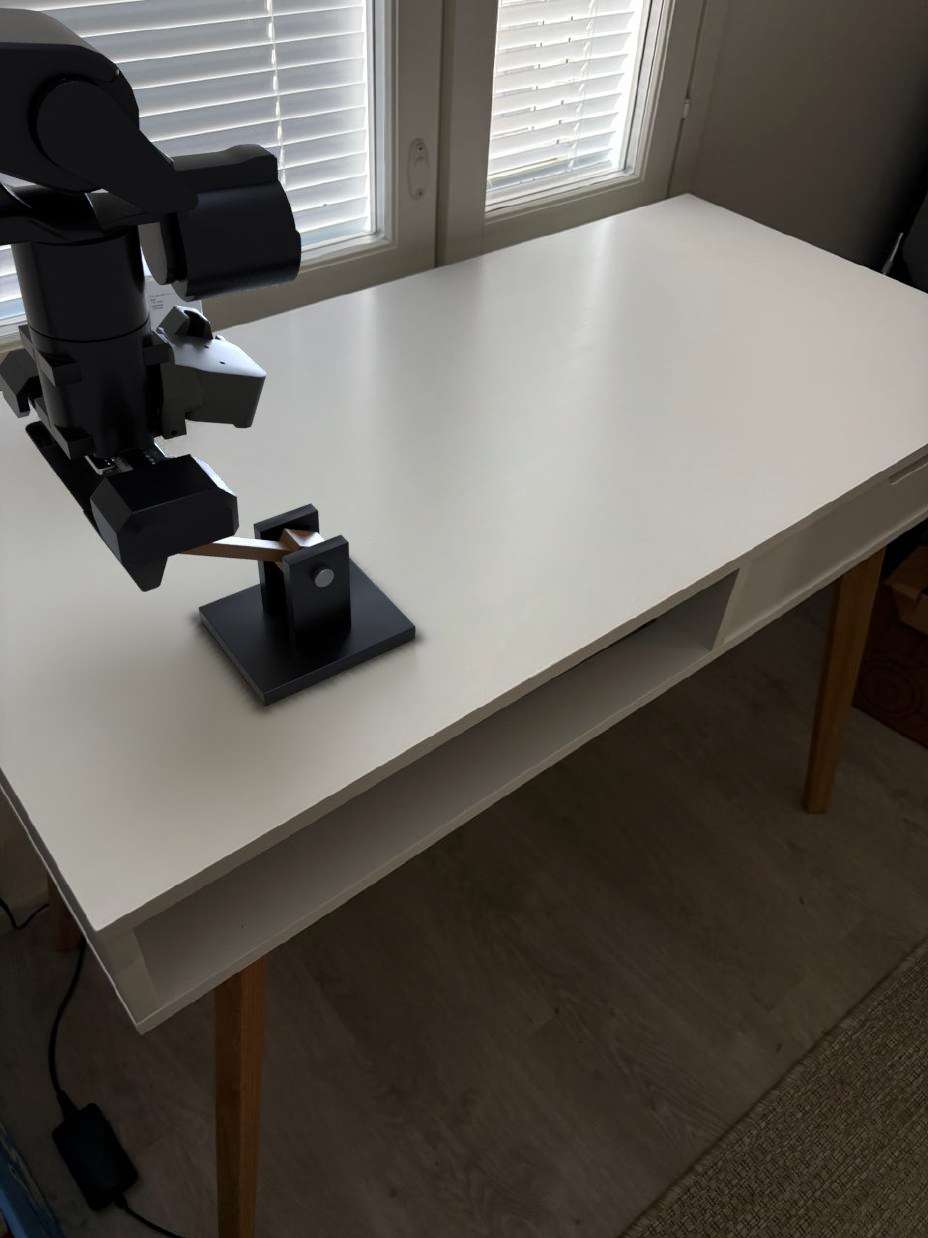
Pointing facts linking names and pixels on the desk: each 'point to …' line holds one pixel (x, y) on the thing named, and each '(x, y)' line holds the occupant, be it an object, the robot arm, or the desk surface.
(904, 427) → the desk surface
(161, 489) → the robot arm
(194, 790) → the desk surface
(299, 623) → the bracket
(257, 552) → the lever
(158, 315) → the ink box
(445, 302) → the desk surface
